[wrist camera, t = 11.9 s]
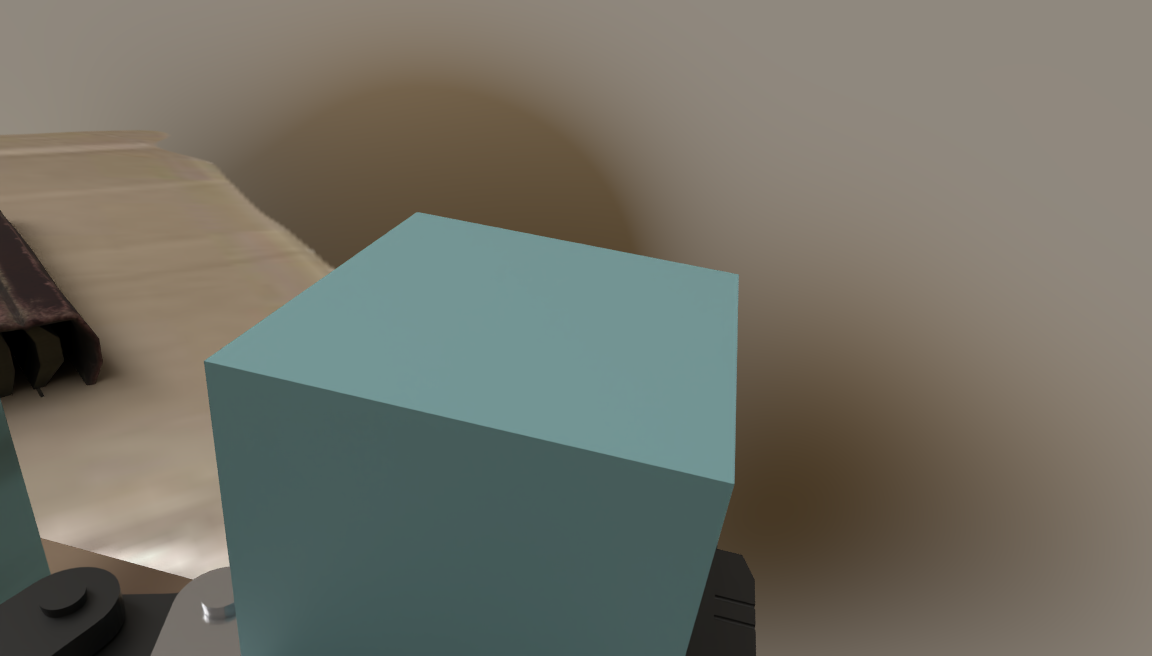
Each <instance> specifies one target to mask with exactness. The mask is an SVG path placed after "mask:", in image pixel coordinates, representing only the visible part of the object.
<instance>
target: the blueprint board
mask: <svg viewBox="0 0 1152 656" xmlns="http://www.w3.org/2000/svg"><path fill="white" fill-rule="evenodd" d="M77 567H97V568H101V569H104V570H107V571H109V572H111V573H112V574H113V575H115V577H116V578H117V579H118V582H119V585H120V589H121V593H122V594H167V593H179V592H180V591H181V590H182V589H183V588H184V587H185V586H186V585H187V584H188V583H189V582H191V581H192V579H188V578H185V577H181V576H178V575H174V574H170V573H167V572H163V571H159V570H156V569H152V568H148V567H145V566H141V565H137V564H134V563H130V562H126V561H123V560H119V559H115V558H112V557H108V556H104V555H101V554H97V553H94V552H90V551H86V550H83V549H79V548H75V547H72V546H68V545H64V544H61V543H57V542H53V541H50V540H46V539H42V538H40V535H39V531H38V528H37V524H36V521H35V517H34V514H33V510H32V507H31V504H30V500H29V497H28V493H27V490H26V486H25V483H24V479H23V476H22V472H21V469H20V465H19V462H18V458H17V455H16V451H15V448H14V444H13V441H12V438H11V434H10V431H9V427H8V424H7V420H6V417H5V413H4V410H3V406H2V403H1V399H0V604H2V603H3V602H5V601H6V600H8V599H10V598H11V597H13V596H14V595H16V594H18V593H19V592H21V591H22V590H24V589H25V588H27V587H29V586H30V585H32V584H33V583H35V582H37V581H39V580H40V579H42V578H44V577H46V576H49V575H51V574H53V573H56V572H59V571H62V570H66V569H71V568H77Z"/></svg>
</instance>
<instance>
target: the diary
mask: <svg viewBox="0 0 1152 656" xmlns="http://www.w3.org/2000/svg"><path fill="white" fill-rule="evenodd" d="M62 349H63V351H64V352H65V354H66V355H67V357H68V358H69V360H70V361H71V363H72V364H73V366H74V367H75V369H76V370H77V372H78V373H79V375H80V376H81V378H82V379H83V381H84V382H85V384H86V385H93V384H95V383H96V380H97V377H98V374H99V371H100V368H101V365H102V362H103V359H102V354H101V348H100V342H99V338H98V337H97V336H96V334H95V333H94V332H93V331H92V329H91V328H90V327H89V326H88V324H87V323H86V322H85V321H84V320H83V318H82V317H81V316H80V315H79V313H78V312H77V311H76V310H75V308H74V307H73V306H72V305H71V304H70V302H69V301H68V300H67V299H66V297H65V296H64V295H63V294H62V293H61V291H60V290H59V289H58V288H57V286H56V285H55V283H54V282H53V280H52V279H51V277H50V276H49V274H48V273H47V271H46V270H45V268H44V267H43V265H42V264H41V262H40V261H39V260H38V258H37V257H36V255H35V254H34V252H33V251H32V249H31V248H30V247H29V245H28V244H27V243H26V242H25V240H24V239H23V238H22V237H21V236H20V234H19V233H18V232H17V231H16V229H15V228H14V227H13V226H12V225H11V223H10V222H9V221H8V220H7V219H6V218H5V216H4V215H3V214H2V212H1V211H0V398H1V397H5V396H9V395H12V393H13V385H14V376H15V369H14V365H13V361H12V357H11V353H12V354H13V356H14V358H15V359H16V361H17V363H18V364H19V366H20V368H21V369H22V371H23V372H24V374H25V376H26V377H27V379H28V381H29V382H30V384H31V386H32V387H33V389H37V391H38V393H39V395H40V396H41V397H44V395H43V393H42V391H41V390H40V387H44V386H45V385H46V384H47V383H48V381H49V380H50V379H51V377H52V376H53V375H54V373H55V372H56V371H57V369H58V368H59V367H60V366H61V364H62V363H63V362H64V358H63V353H62ZM10 351H11V353H10Z"/></svg>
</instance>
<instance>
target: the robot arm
mask: <svg viewBox="0 0 1152 656" xmlns="http://www.w3.org/2000/svg"><path fill="white" fill-rule="evenodd" d="M754 606H755V581H754V578H753V576H752V574H751V572H750V570H749V568H748V566H747V564H746V562H745V560H744V558H743V556H742V555H739V554H736V553H732V552H728V551H723V550H719V549H717V546H716V550H715V553H714V557H713V560H712V564H711V567H710V571H709V574H708V578H707V581H706V585H705V588H704V592H703V595H702V599H701V602H700V606H699V609H698V613H697V616H696V620H695V623H694V627H693V630H692V634H691V637H690V641H689V644H688V648H687V651H686V655H685V656H756V634H755V609H754ZM0 656H241V651H240V643H239V635H238V627H237V619H236V611H235V603H234V595H233V587H232V579H231V571H230V567H224V568H219V569H215V570H212V571H209V572H207V573H205V574H202V575H200V576H199V577H197V578H195V579H194V580H192V581H191V582H189V583H188V584H187V585H186V586H185V587H184V588H183V589H182V590H181V591H180V592H179V593H167V594H122V593H121V589H120V585H119V582H118V579H117V578H116V577H115V575H113V574H112V573H111V572H109V571H107V570H104V569H101V568H97V567H77V568H71V569H66V570H62V571H59V572H56V573H53V574H51V575H49V576H46V577H44V578H42V579H40V580H39V581H37V582H35V583H33V584H32V585H30V586H29V587H27V588H25V589H24V590H22V591H21V592H19V593H18V594H16V595H14V596H13V597H11V598H10V599H8V600H6V601H5V602H3V603H2V604H0Z"/></svg>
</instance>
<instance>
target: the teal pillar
mask: <svg viewBox="0 0 1152 656" xmlns="http://www.w3.org/2000/svg"><path fill="white" fill-rule="evenodd" d="M738 277H739V275H738V274H733V273H728V272H723V271H718V270H712V269H707V268H702V267H697V266H692V265H687V264H681V263H676V262H671V261H666V260H661V259H656V258H651V257H645V256H641V255H635V254H630V253H625V252H620V251H615V250H609V249H604V248H599V247H594V246H589V245H583V244H578V243H573V242H568V241H563V240H558V239H553V238H548V237H543V236H537V235H532V234H526V233H522V232H517V231H512V230H507V229H501V228H496V227H491V226H486V225H481V224H476V223H470V222H465V221H460V220H455V219H450V218H445V217H440V216H434V215H429V214H424V213H419V212H417V213H415V214H414V215H412V216H411V217H409V218H408V219H407V220H405V221H404V222H402V223H401V224H400V225H398V226H397V227H395V228H394V229H392V230H391V231H389V232H388V233H387V234H385V235H384V236H382V237H381V238H379V239H378V240H377V241H375V242H374V243H372V244H371V245H369V246H368V247H366V248H365V249H364V250H362V251H361V252H359V253H358V254H357V255H355V256H354V257H352V258H351V259H349V260H348V261H346V262H345V263H344V264H342V265H341V266H339V267H338V268H336V269H335V270H334V271H332V272H331V273H329V274H328V275H326V276H325V277H324V278H322V279H321V280H319V281H318V282H316V283H315V284H314V285H312V286H311V287H309V288H308V289H306V290H305V291H304V292H302V293H301V294H299V295H298V296H296V297H295V298H293V299H292V300H291V301H289V302H288V303H286V304H285V305H283V306H282V307H281V308H279V309H278V310H276V311H275V312H273V313H272V314H271V315H269V316H268V317H266V318H265V319H263V320H262V321H261V322H259V323H258V324H256V325H255V326H253V327H252V328H251V329H249V330H248V331H246V332H245V333H243V334H242V335H241V336H239V337H238V338H236V339H235V340H233V341H232V342H230V343H229V344H228V345H226V346H225V347H223V348H222V349H220V350H219V351H218V352H216V353H215V354H213V355H212V356H210V357H209V358H208V359H206V360H205V361H204V365H205V373H206V381H207V389H208V397H209V404H210V412H211V420H212V428H213V436H214V444H215V452H216V460H217V468H218V476H219V484H220V492H221V500H222V508H223V516H224V524H225V532H226V540H227V547H228V555H229V563H230V571H231V579H232V587H233V595H234V603H235V611H236V619H237V627H238V635H239V643H240V651H241V656H685V655H686V651H687V648H688V644H689V641H690V637H691V634H692V630H693V627H694V623H695V620H696V616H697V613H698V609H699V606H700V602H701V599H702V595H703V592H704V588H705V585H706V581H707V578H708V574H709V571H710V567H711V564H712V560H713V557H714V553H715V550H716V546H717V543H718V539H719V535H720V532H721V528H722V525H723V522H724V518H725V515H726V511H727V507H728V504H729V501H730V497H731V494H732V490H733V487H734V473H735V425H736V424H735V423H736V422H735V421H736V375H737V328H738V280H739V279H738Z"/></svg>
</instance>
